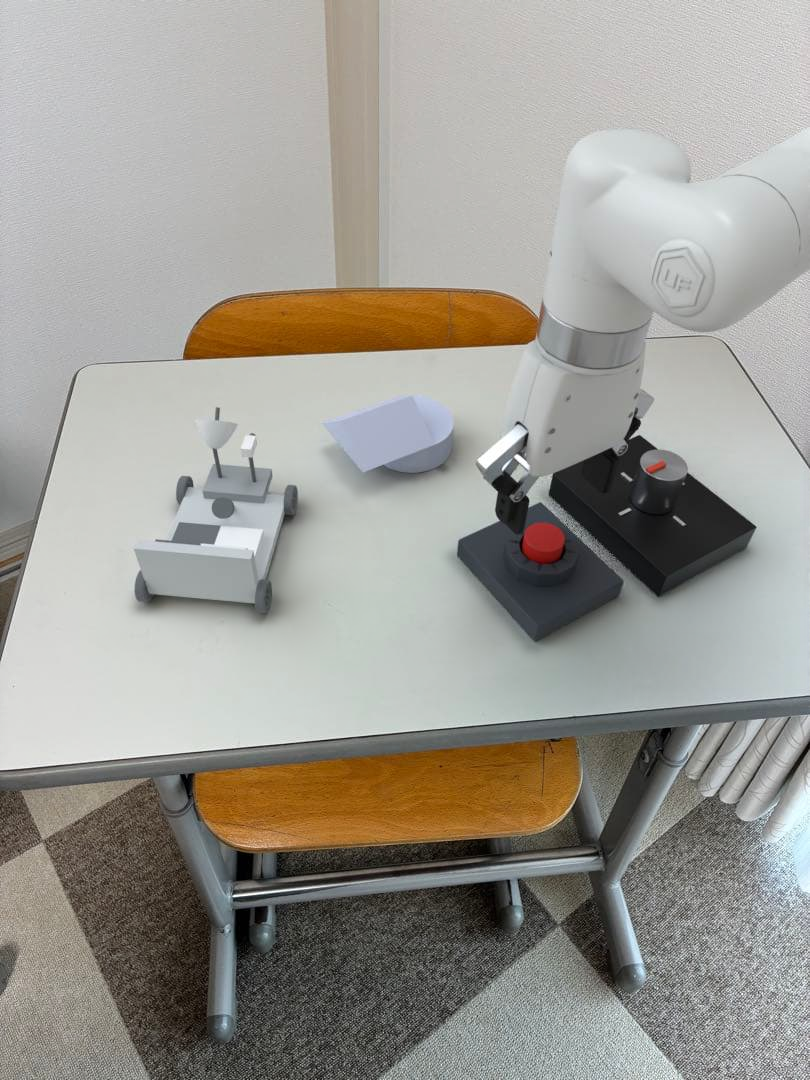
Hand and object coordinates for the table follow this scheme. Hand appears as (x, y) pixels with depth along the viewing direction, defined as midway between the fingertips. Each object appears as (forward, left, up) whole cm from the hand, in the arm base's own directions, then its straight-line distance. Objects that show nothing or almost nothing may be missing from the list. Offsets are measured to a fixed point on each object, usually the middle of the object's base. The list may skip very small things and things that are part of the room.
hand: (552, 502), depth 68 cm
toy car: (+19, +23, -10) cm, 31 cm away
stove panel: (0, -14, -9) cm, 17 cm away
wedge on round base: (+22, +2, -10) cm, 24 cm away
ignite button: (0, 0, -6) cm, 6 cm away
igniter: (0, 0, -9) cm, 9 cm away
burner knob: (0, -14, -6) cm, 15 cm away
